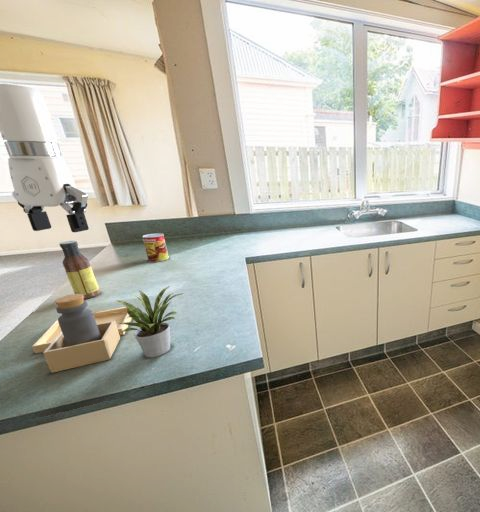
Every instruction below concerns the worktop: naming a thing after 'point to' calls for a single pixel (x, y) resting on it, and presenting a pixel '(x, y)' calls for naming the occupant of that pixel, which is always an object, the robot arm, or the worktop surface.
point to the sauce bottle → (79, 270)
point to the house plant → (151, 324)
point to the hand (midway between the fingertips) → (61, 230)
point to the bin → (82, 349)
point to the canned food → (155, 247)
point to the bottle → (76, 320)
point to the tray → (99, 318)
